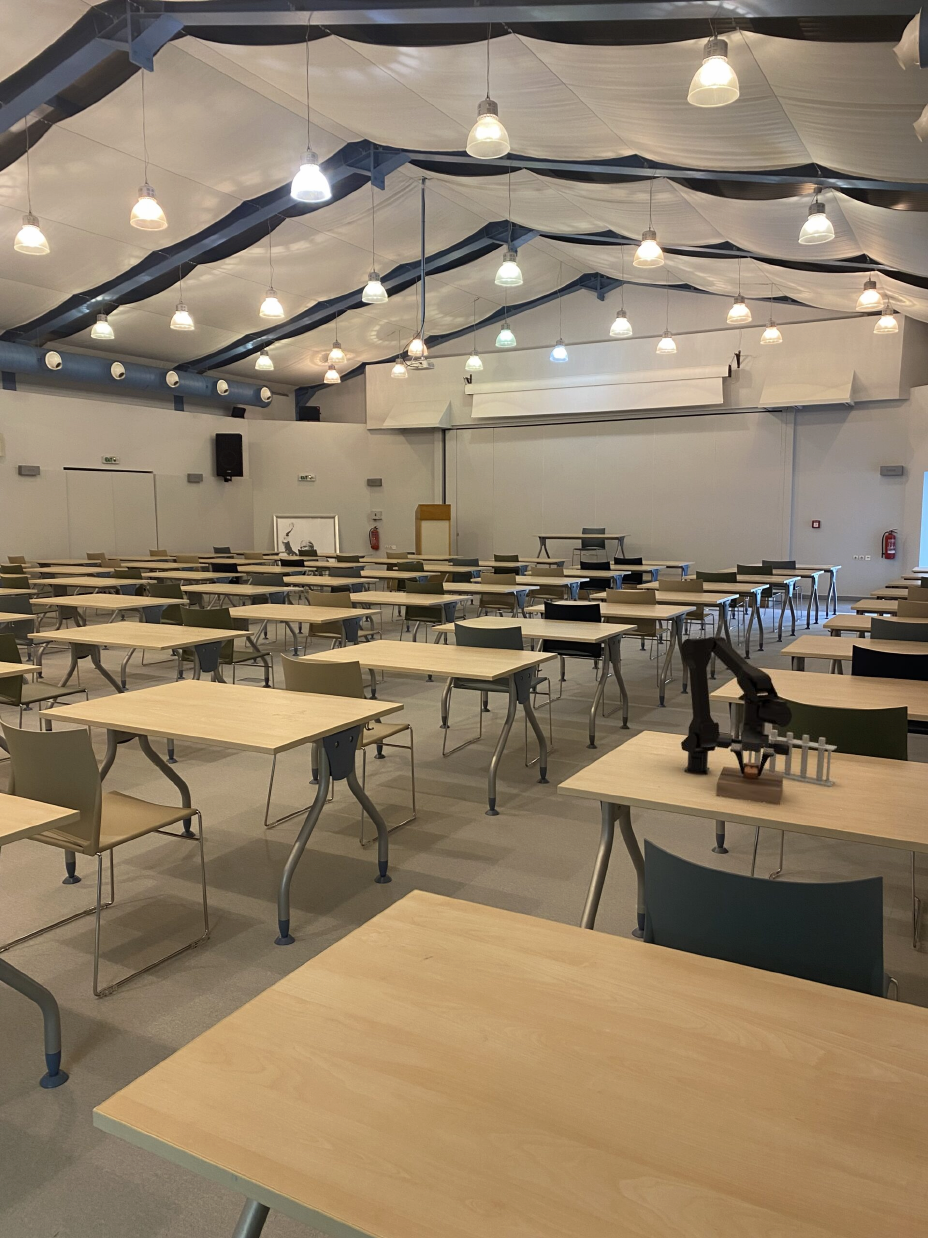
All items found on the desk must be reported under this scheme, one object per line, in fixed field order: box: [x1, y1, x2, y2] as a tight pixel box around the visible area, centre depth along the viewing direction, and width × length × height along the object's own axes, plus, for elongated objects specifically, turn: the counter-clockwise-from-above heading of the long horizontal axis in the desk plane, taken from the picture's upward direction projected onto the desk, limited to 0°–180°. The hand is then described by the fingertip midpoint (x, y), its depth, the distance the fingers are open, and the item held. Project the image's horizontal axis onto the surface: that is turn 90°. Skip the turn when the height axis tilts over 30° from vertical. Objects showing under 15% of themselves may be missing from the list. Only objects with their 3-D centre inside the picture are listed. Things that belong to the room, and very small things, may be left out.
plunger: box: [743, 761, 759, 779], centre depth 227 cm, size 4×4×8 cm
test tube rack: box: [748, 729, 838, 788], centre depth 242 cm, size 25×4×13 cm, turn 53°
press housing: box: [716, 766, 784, 806], centre depth 227 cm, size 16×16×4 cm
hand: (751, 775), depth 227 cm, fingers closed on plunger, 4 cm apart
